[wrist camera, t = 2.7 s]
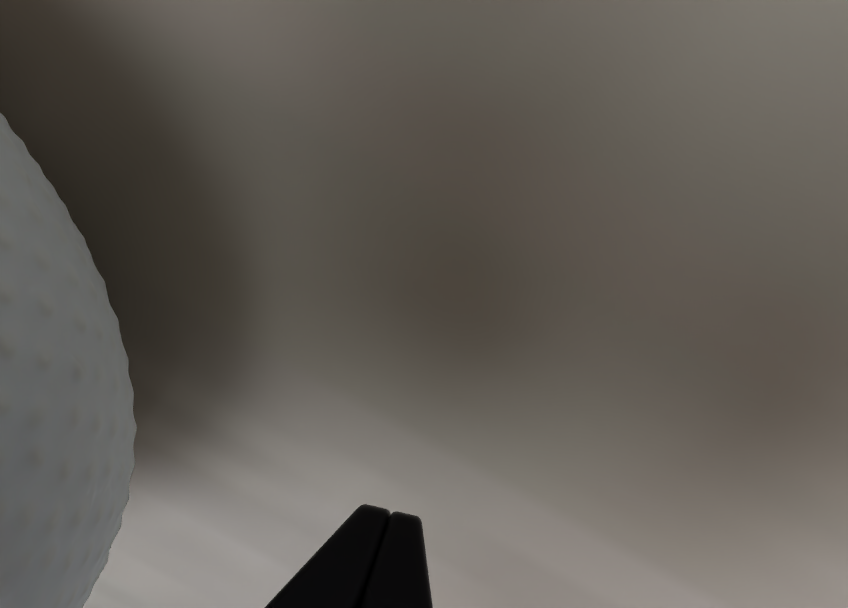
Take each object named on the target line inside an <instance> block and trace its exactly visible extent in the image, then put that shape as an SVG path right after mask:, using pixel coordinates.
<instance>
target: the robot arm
mask: <svg viewBox="0 0 848 608" xmlns="http://www.w3.org/2000/svg"><path fill="white" fill-rule="evenodd" d="M265 608H433V607H432V599H431V591H430V583H429V576H428V568H427V560H426V552H425V544H424V537H423V529H422V522H421V519H420V518H419V517H418V516H415V515H410V514H406V513H402V512H393V513H392V514H390V511H389V510H387V509H384V508H380V507H376V506H371V505H367V504H364V505H361V506H360V507H358V508H357V509H356V510H355V511H354V512H353V513H352V515H351V516H350V517H349V518H348V519H347V520H346V521H345V522H344V523H343V524H342V525H341V526H340V527H339V528H338V530H337V531H336V532H335V533H334V534H333V535H332V536H331V537H330V538H329V539H328V540H327V541H326V542H325V543H324V545H323V546H322V547H321V548H320V549H319V550H318V551H317V552H316V553H315V554H314V555H313V556H312V557H311V558H310V560H309V561H308V562H307V563H306V564H305V565H304V566H303V567H302V568H301V569H300V570H299V571H298V572H297V573H296V575H295V576H294V577H293V578H292V579H291V580H290V581H289V582H288V583H287V584H286V585H285V586H284V587H283V588H282V590H281V591H280V592H279V593H278V594H277V595H276V596H275V597H274V598H273V599H272V600H271V601H270V602H269V603H268V605H267V606H266V607H265Z"/></svg>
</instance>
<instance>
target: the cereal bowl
mask: <svg viewBox="0 0 848 608" xmlns="http://www.w3.org/2000/svg"><path fill="white" fill-rule="evenodd" d="M128 367H129V359H128V357H127V354H126V351H125V349H124V346H123V344H122V339H121V334H120V330H119V320H118V318H117V316H116V315H115V313H114V311H113V309H112V307H111V305H110V303H109V299H108V295H107V290H106V284H105V281H104V280H103V278H102V277H101V275H100V274H99V272H98V271H97V268H96V266H95V265H94V262H93V259H92V256H91V253H90V251H89V249H88V248H87V245H86V242H85V238H84V237H83V235H82V234H81V233H80V231H79V230H78V229H77V227H76V225H75V224H74V222H73V221H72V220H71V217H70V215H69V212H68V210H67V207H66V205H65V204H64V203H63V202H62V200H61V199H60V198H59V196H58V194H57V192H56V190H55V188H54V187H53V185H52V184H51V183H50V182H49V181H48V179H47V178H46V177H45V176H44V174H43V172H42V170H41V168H40V166H39V164H38V163H37V162H36V161H35V160H34V159H33V158H32V157H31V156H30V154H29V152H28V150H27V148H26V146H25V144H24V142H23V141H22V140H21V139H20V138H19V137H18V136H17V135H16V134H15V133H14V132H13V131H12V130H11V128H10V126H9V124H8V122H7V120H6V118H5V117H4V116H3V115H2V114H1V113H0V608H83V606H84V603H85V602H86V601H87V599H88V597H89V596H90V593H91V591H92V588H93V585H94V583H95V582H96V581H97V579H98V578H99V575H100V573H101V572H102V570H103V569H104V567H105V565H106V563H107V561H108V555H109V550H110V548H111V544H112V542H113V540H114V539H115V537H116V535H117V533H118V531H119V529H120V527H121V521H122V512H123V510H124V508H125V506H126V504H127V502H128V500H129V482H130V477H131V474H132V471H133V469H134V466H135V458H134V452H133V443H134V439H135V434H136V430H137V426H136V423H135V419H134V415H133V400H134V392H133V388H132V384H131V380H130V377H129V373H128Z"/></svg>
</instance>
